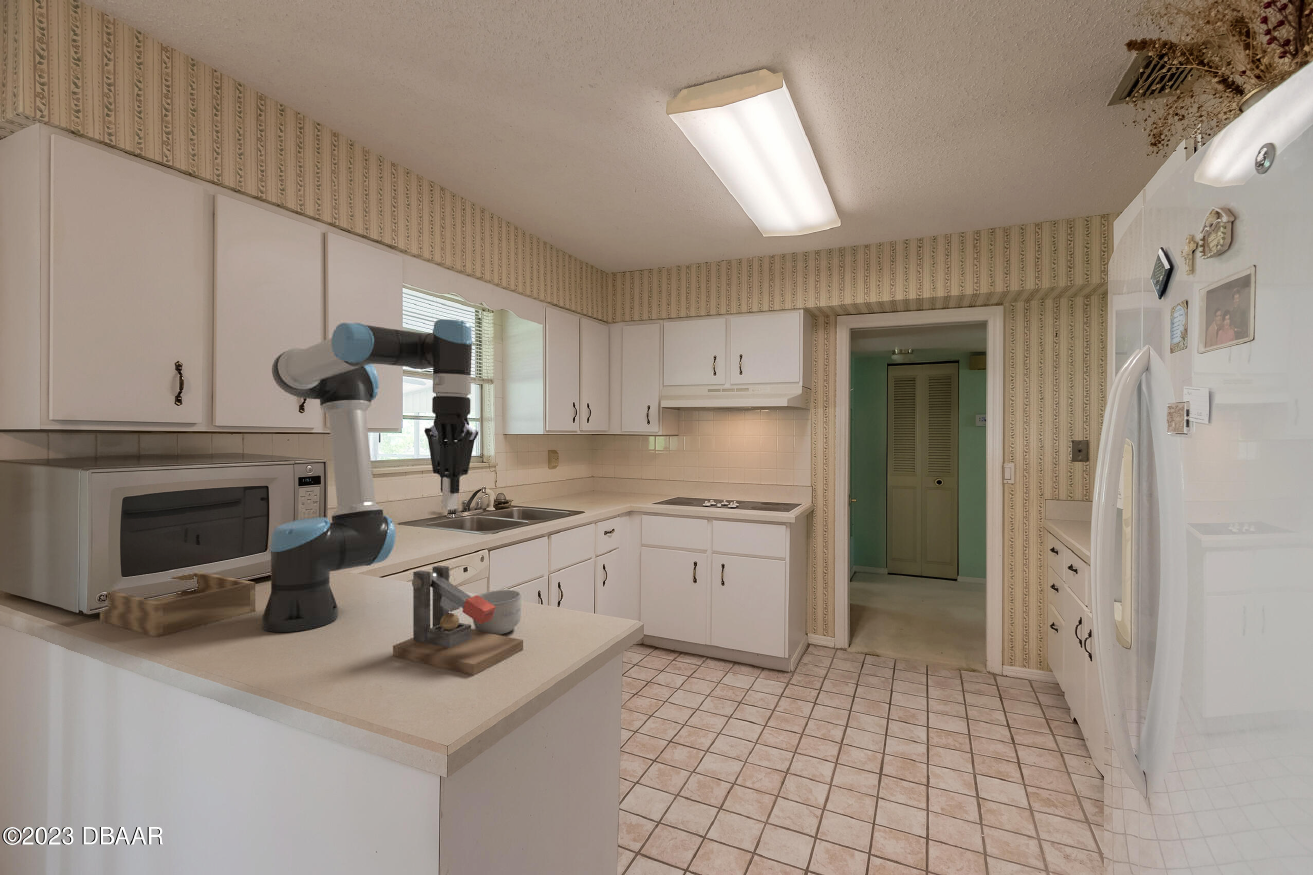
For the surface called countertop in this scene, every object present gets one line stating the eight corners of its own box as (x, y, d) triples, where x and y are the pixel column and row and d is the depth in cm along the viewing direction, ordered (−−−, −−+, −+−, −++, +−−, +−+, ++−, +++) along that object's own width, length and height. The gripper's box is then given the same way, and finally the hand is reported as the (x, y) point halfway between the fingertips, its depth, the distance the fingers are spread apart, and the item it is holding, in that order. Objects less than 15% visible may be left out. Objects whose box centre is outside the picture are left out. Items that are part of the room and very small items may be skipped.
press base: (392, 655, 117) (392, 574, 117) (446, 633, 130) (446, 560, 130) (474, 675, 108) (474, 587, 108) (523, 649, 121) (523, 571, 121)
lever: (417, 590, 122) (422, 570, 121) (429, 587, 125) (435, 567, 124) (477, 632, 115) (484, 611, 114) (489, 627, 118) (495, 606, 117)
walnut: (436, 632, 119) (436, 614, 119) (449, 626, 123) (449, 609, 123) (449, 634, 118) (449, 616, 118) (462, 629, 121) (462, 611, 121)
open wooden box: (100, 620, 138) (99, 590, 138) (199, 598, 156) (199, 571, 156) (156, 636, 127) (155, 604, 127) (255, 610, 145) (255, 582, 145)
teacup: (508, 641, 126) (508, 603, 126) (461, 637, 128) (461, 600, 128) (534, 620, 139) (534, 586, 139) (491, 617, 142) (491, 583, 142)
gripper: (414, 394, 123) (412, 508, 123) (462, 395, 117) (459, 514, 118) (442, 396, 129) (440, 503, 130) (488, 396, 124) (486, 509, 124)
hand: (449, 508), depth 124 cm, fingers closed
